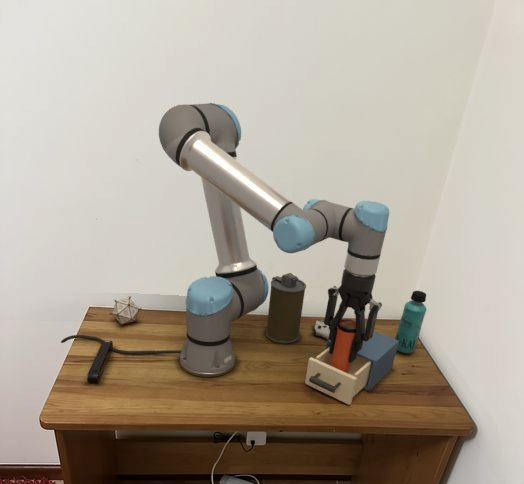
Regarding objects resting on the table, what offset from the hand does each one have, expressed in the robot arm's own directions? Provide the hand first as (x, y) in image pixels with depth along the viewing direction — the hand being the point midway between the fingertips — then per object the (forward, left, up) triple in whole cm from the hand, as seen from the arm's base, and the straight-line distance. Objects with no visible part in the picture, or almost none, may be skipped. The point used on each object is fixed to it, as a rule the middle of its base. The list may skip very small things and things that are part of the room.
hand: (342, 355), depth 125 cm
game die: (-67, +7, -10) cm, 68 cm away
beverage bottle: (+16, +27, -10) cm, 33 cm away
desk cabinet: (+4, +11, -10) cm, 16 cm away
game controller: (-9, +28, -10) cm, 31 cm away
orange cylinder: (0, 0, -8) cm, 8 cm away
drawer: (0, -1, -9) cm, 9 cm away
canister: (-21, +21, -10) cm, 31 cm away
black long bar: (-61, -16, -10) cm, 64 cm away
